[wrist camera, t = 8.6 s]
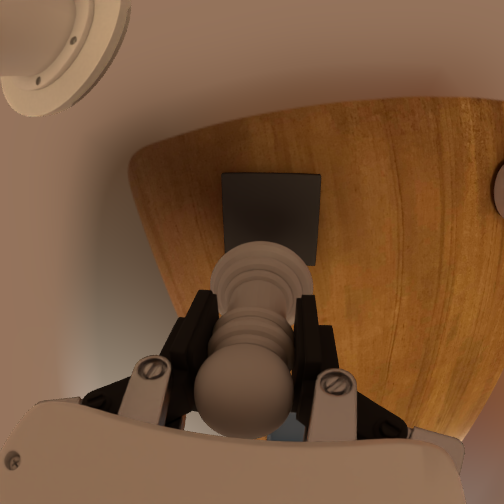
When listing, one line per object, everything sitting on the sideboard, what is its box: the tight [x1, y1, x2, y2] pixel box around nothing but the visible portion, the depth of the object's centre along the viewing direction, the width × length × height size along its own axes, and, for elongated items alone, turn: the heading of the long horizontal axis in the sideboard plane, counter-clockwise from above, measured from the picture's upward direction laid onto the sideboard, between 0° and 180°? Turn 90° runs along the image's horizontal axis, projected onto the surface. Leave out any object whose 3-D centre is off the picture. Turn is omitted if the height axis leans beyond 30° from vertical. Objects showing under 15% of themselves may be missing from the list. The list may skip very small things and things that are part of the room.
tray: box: [267, 411, 305, 442], centre depth 36 cm, size 14×11×2 cm
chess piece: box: [194, 241, 313, 439], centre depth 11 cm, size 5×5×9 cm
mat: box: [221, 172, 321, 266], centre depth 25 cm, size 8×8×1 cm
